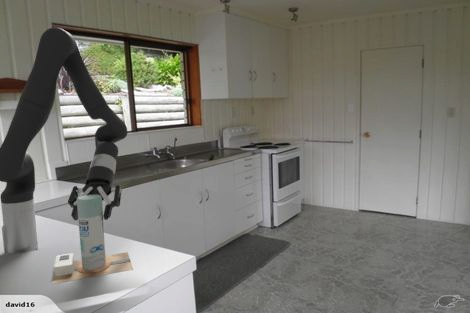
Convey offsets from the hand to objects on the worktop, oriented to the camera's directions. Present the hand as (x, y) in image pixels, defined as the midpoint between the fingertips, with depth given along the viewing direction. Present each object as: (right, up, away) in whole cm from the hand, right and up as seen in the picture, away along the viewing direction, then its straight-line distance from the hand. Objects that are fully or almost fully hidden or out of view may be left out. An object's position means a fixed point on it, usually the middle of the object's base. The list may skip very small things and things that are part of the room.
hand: (90, 218), depth 100 cm
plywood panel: (0, -15, +2) cm, 16 cm away
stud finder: (-7, -14, +1) cm, 16 cm away
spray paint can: (0, -14, +2) cm, 14 cm away
